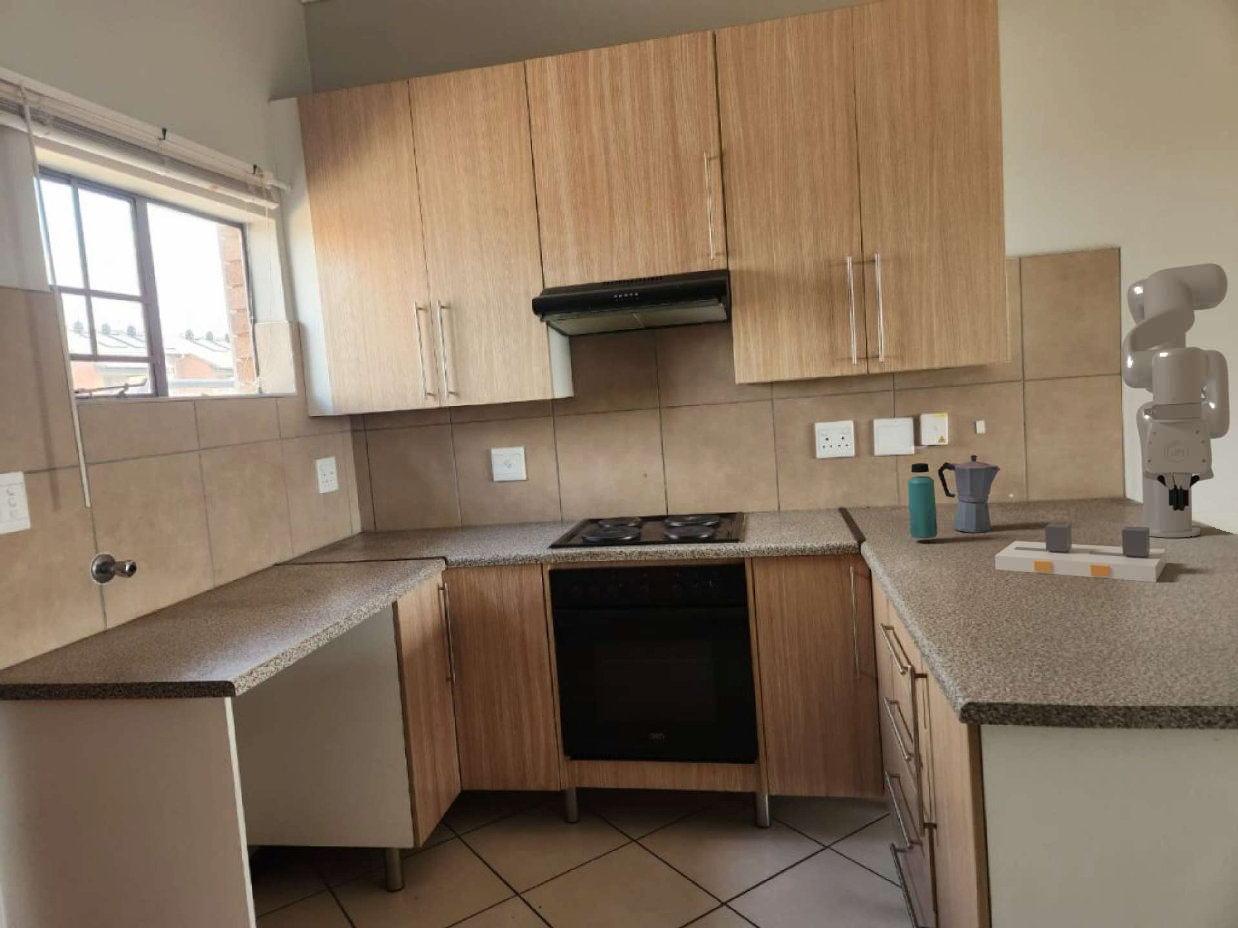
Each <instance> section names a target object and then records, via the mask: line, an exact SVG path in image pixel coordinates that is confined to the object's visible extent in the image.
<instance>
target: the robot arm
mask: <svg viewBox="0 0 1238 928" xmlns="http://www.w3.org/2000/svg"><path fill="white" fill-rule="evenodd" d="M1227 292H1228V278H1227V273H1226V271H1225V270H1224V267H1222V266H1220V265H1219V264H1217V263H1211V262H1210V263H1201V264H1191V265H1186V266H1177V267H1169V268H1164V269H1160V270H1158V271H1155V272H1153V273H1152V274H1150V275H1149V276H1147V278H1144V279H1141V280H1138V281H1135V282H1133V283H1132V284H1130V286H1129V287H1128V289H1127V294H1126V297H1127V305H1128V309H1129V312H1130V315H1131V317H1132V319H1133V321H1134V323H1135V326H1134V327H1133V328H1132V329H1131V330H1129V332H1128V333H1127V335H1126V336H1125V338H1124V339H1123V342H1122V345H1121V349H1120V360H1121V361H1120V363H1121V365H1120V366H1121V367H1120V370H1121V377H1122V380H1123V382H1124V384H1125V385H1126V386H1127V387H1129V388H1132V389H1145V391H1147V392H1148V393H1150V394H1152V401H1149V402H1146V403H1144V404H1141V406H1140V407H1139V408H1138V409H1137V411H1136V416H1135V418H1136V427H1137V432H1138V436H1139V443H1140V451H1141V452H1140V453H1141V473H1142V475H1141V476H1142V477H1141V480H1142V481H1141V483H1142V484H1141V485H1142V524H1139V525H1138V526H1136V527H1149V537H1155V538H1170V539H1171V538H1173V539H1174V538H1191V536H1192V537H1195V536H1196V537H1197V536H1200V534H1201V528H1200V527H1198V526H1194V525H1193V511H1192V510H1193V504H1192V503H1193V502H1192V499H1193V498H1192V497H1193V496H1192V490H1193V489H1192V487H1193V486H1194V485H1195V484H1196V483H1198V482H1201V481H1206V480H1212V479H1213V478H1214V477H1215V475H1214V471H1213V468H1212V465H1213V464H1212V463H1213V454H1212V442H1211V440H1215V439H1221V438H1223V437H1225V436H1226V435H1228V434H1227V433H1228V432H1229V430H1230V422H1231V420H1230V418H1231V417H1230V416H1231V414H1230V413H1231V412H1230V387H1229V384H1230V383H1229V369H1228V367H1229V366H1228V362H1227V360H1226V356H1225V355H1224V354H1223V353H1222V352H1220V351H1218V350H1214V349H1202V348H1200V347H1197V346H1187V337H1186V335H1187V333H1188V332H1189V331H1190V330H1191V329H1192V328H1193V326H1194V323H1195V321H1196V317H1195V316H1196V315H1195V311H1202V310H1210V309H1214V308H1216V307H1218V306H1219V305H1220V304H1221V303H1223V301H1224V299H1225V298H1226V295H1227ZM1202 396H1203V397H1202Z"/></svg>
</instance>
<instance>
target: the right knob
mask: <svg viewBox="0 0 1238 928" xmlns="http://www.w3.org/2000/svg"><path fill="white" fill-rule="evenodd" d="M1121 537H1122V540H1121V541H1122V543H1121V544H1122V546H1121V547H1123V555H1131V556H1148V554H1149V553H1150V549H1151V542H1150V536H1149V527H1137V526H1127V525H1126V526H1124V527H1123V529H1122V530H1121Z"/></svg>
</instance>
